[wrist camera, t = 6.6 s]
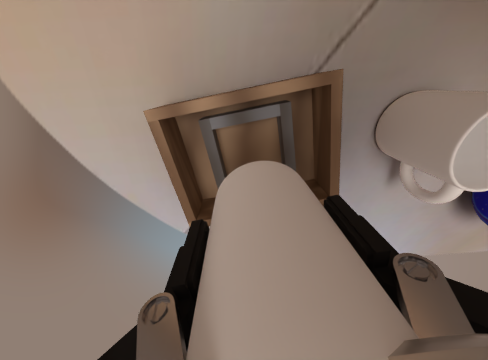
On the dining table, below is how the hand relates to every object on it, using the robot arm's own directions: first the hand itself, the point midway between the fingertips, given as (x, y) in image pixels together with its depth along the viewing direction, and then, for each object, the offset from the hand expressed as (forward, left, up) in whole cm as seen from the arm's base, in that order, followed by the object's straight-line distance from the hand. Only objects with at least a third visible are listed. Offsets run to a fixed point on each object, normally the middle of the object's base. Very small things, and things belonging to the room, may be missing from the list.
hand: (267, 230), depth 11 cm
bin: (0, 0, -16) cm, 16 cm away
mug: (-20, +3, -17) cm, 26 cm away
